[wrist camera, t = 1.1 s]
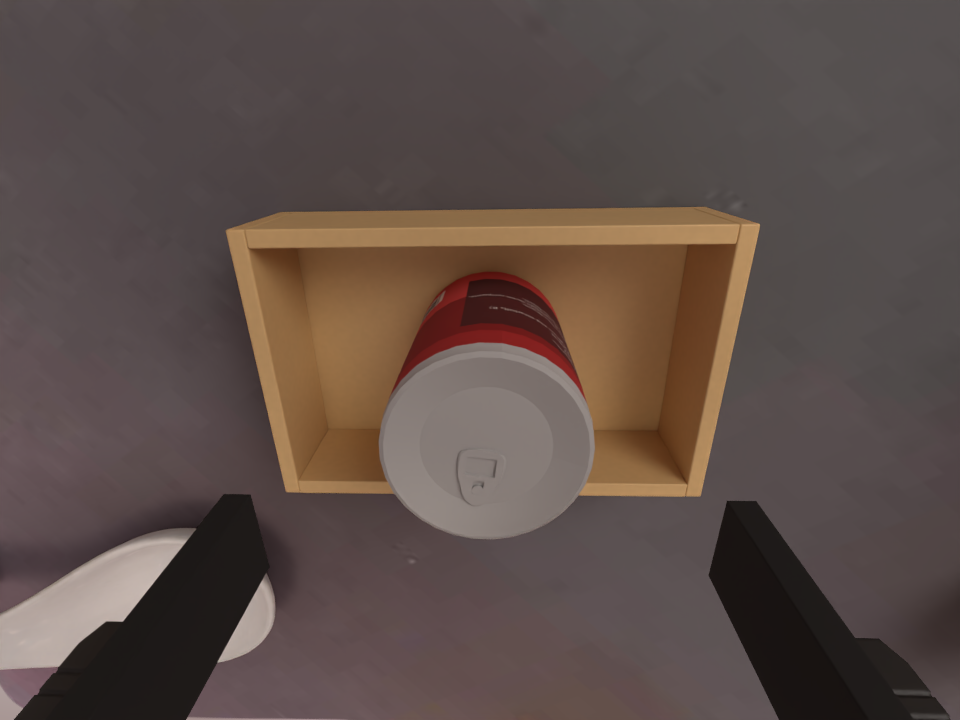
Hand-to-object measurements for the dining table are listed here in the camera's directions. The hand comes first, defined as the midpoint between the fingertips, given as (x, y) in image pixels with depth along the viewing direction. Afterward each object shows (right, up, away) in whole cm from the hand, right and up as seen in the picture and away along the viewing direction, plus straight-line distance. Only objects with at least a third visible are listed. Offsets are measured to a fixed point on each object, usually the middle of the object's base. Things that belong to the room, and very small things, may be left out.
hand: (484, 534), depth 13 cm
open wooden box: (0, +6, +14) cm, 15 cm away
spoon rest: (-26, -10, +22) cm, 35 cm away
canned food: (0, +6, +13) cm, 15 cm away
